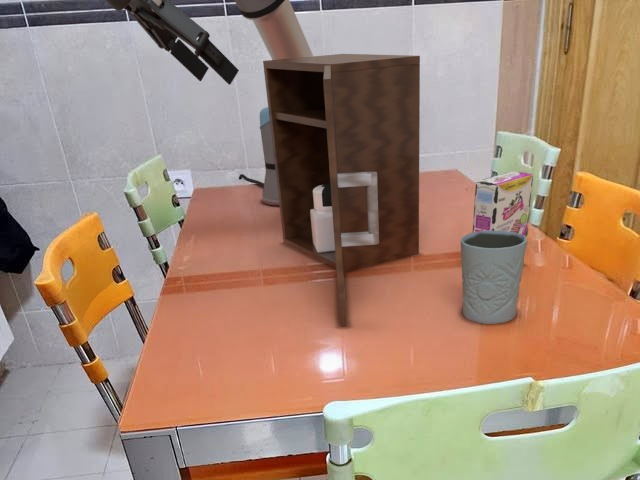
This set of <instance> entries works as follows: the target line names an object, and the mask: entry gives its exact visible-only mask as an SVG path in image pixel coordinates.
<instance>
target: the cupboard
mask: <svg viewBox="0 0 640 480" xmlns="http://www.w3.org/2000/svg"><path fill="white" fill-rule="evenodd" d="M262 65H263V73H264V82H265V89H266V91H265V92H266V100H267V107H268V109H269V118H270V127H271V136H272V145H273V153H274V162H275V171H276V180H277V188H278V197H279V206H278V207H279V214H280V222H281V231H282V232H281V233H282V240H283V244H285V245H287V246H289V247H291V248H293V249H295V250H297V251H299V252H301V253H303V254H305V255H307V256H309V257H311V258H313V259H315V260H317V261H319V262H321V263H324V264H326V265H327V266H330V267H331V268H334V269H336V257H335V251H331V252H322V253H318V252H317V250H316V248H315V246H314V244H313V237H312V226H311V215H310V210H311V209H315V208H314V200H313V189H314V188H315V187H317V186H319V185H324V184H330V170H329V155H328V141H327V127H326V112H325V98H324V83H323V77H324V67H325V66H331V80H332V95H333V111H334V127H335V143H336V159H337V174H341V173H357V172H377V189H378V222H379V244H376V245H362V246H345V247H342V255H343V270H344V273H349V272H352V271H353V272H354V271H357V270H361V269H364V268H368V267H373V266H377V265H381V264H385V263H388V262H392V261H397V260H401V259H404V258H408V257H412V256H417V255H420V123H421V121H420V118H421V117H420V111H421V110H420V109H421V108H420V107H421V106H420V105H421V104H420V101H421V100H420V99H421V98H420V97H421V95H420V94H421V93H420V92H421V90H420V89H421V88H420V87H421V83H420V82H421V56H420V55H411V54H409V55H408V54H407V55H405V54H403V55H402V54H371V53H370V54H367V53H365V54H364V53H336V54H325V55H313V56H312V57H301V58H290V59H278V60H272V59H269V60H262ZM338 191H339V207H340V223H341V233H354V232H368V212H367V186H357V187H340V188H338Z"/></svg>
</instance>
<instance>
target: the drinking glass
mask: <svg viewBox="0 0 640 480" xmlns="http://www.w3.org/2000/svg"><path fill="white" fill-rule="evenodd" d="M527 244H528V238H527V236H526V237H525V236H524V235H522V234H519V233H515V232H509V231H480V232H474V233H473V232H470V233H467V234H465V235H464V236H462V237H461V239H460V259H461V260H460V262H461V278H462V279H461V280H462V281H461V284H462V286H461V287H462V315H463V316H464V317H463V318H466V319H467V320H469V321H471V322H475V323H477V324H482V325H497V324H498V325H499V324H503V323H507V322H510V321H512V320H513V319H514V318H515V317H516V314H517V309H518V308H517V307H518V306H517V305H518V301H519V296H520V295H519V294H520V289H521V288H520V287H521V285H520V284H521V282H522V275H523V269H524V262H525V256H526V255H525V254H526V249H527Z"/></svg>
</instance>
